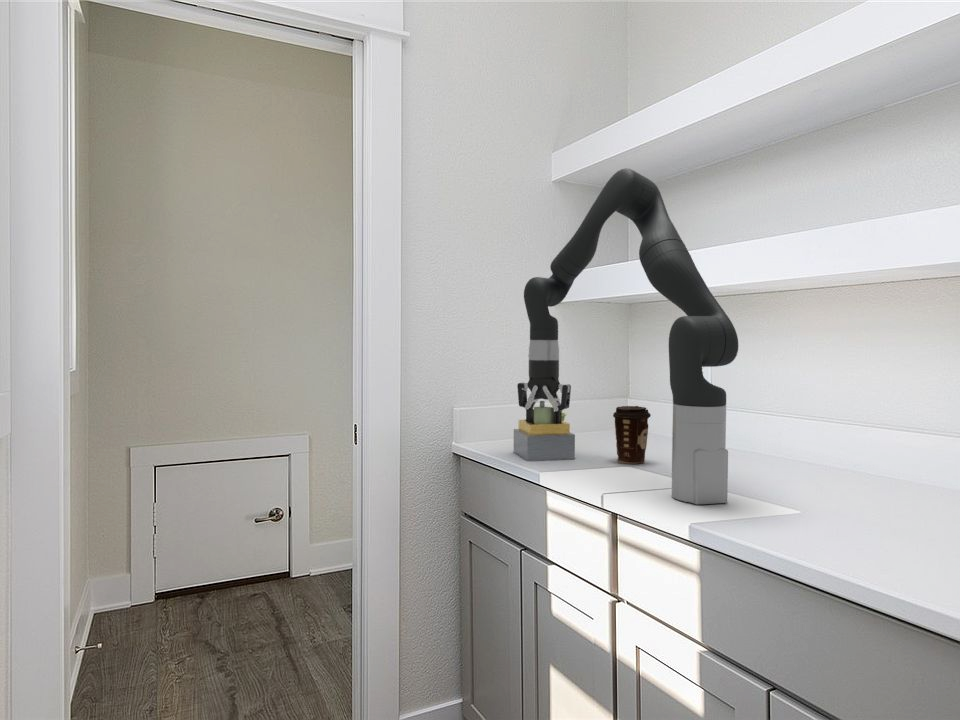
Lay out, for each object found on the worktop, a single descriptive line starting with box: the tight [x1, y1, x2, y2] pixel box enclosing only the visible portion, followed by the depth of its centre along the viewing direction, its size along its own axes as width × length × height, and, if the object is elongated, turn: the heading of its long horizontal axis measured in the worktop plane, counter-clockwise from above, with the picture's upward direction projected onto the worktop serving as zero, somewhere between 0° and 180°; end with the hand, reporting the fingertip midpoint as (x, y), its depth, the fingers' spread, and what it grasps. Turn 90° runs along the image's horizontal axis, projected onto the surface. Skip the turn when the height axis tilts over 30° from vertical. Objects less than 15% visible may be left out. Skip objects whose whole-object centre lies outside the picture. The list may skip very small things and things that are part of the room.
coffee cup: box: [612, 405, 652, 465], centre depth 152 cm, size 9×8×13 cm
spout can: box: [533, 400, 555, 424], centre depth 159 cm, size 5×5×10 cm
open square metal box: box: [513, 419, 576, 462], centre depth 159 cm, size 12×12×8 cm
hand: (543, 425), depth 159 cm, fingers open, 6 cm apart
